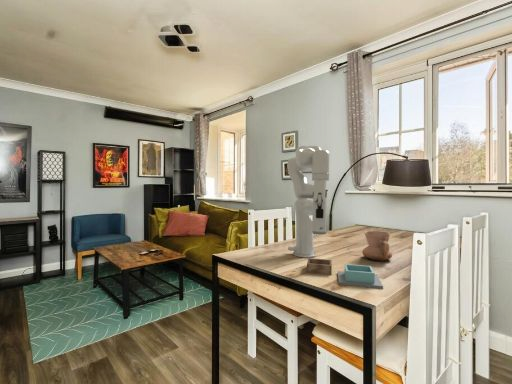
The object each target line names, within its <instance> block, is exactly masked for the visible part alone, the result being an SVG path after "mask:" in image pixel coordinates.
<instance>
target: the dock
mask: <svg viewBox="0 0 512 384" xmlns="http://www.w3.org/2000/svg"><path fill="white" fill-rule="evenodd" d="M337 280H338V285H341V286H351V287H362V288H370V289H381V290H382V289H384V285H383V283H382V281H381V280H380V277H379V275H378V274H377V273H375V271H374V269H373V268H372V265H361V264H351V263H349V264H348V263H344V271H342V270H341V271H339V270H337Z"/></svg>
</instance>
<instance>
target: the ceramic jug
mask: <svg viewBox="0 0 512 384" xmlns="http://www.w3.org/2000/svg"><path fill="white" fill-rule="evenodd" d="M364 235H365V240H366V242H367V245H368V246H366V247H364V248H363V249H362V251H361V253H362V256H363V257H365V258H367V259H369V260H372V261H378V262H380V261H381V262H383V261H388V260H390V259H391V258H392V257H393V252H392V251H391V250H390V243H389V240H390V236H391V234H390V232H389V231H384V230H383V231H381V230H365V232H364Z"/></svg>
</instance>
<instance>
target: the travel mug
mask: <svg viewBox="0 0 512 384" xmlns="http://www.w3.org/2000/svg"><path fill="white" fill-rule="evenodd" d="M328 191H329V190H328V189H326V195H325V202H324V203H323V218H316V207H317V200H316V201H315V203H314V202H313V215H312V218H311V220H312V229H313V230H312V233H313V235H323V236H324V235H326V234H327V220H328V219H327V213H328V212H327V211H328V210H327V209H328V205H327V203H328V199H327V198H328V197H327V196H328V195H327V194H328ZM321 194H322V193H321ZM313 200H314V192H313ZM321 202H322V201H321Z"/></svg>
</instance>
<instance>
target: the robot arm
mask: <svg viewBox="0 0 512 384" xmlns="http://www.w3.org/2000/svg"><path fill="white" fill-rule="evenodd" d="M286 166H287V168H286V169H287V173H288V175H289V177H290V179H291V181H292V186H293V191H294V195H295V198H296V199H297V200H295V202H294V211H295V226H296V227H295V230H296V231H295V246H289V245H288V247H287V250H288V251H292V252H293V253H292V255H293V256H295V257H298V258H307V259H308V258H313V257H316V256H317V253H316V252H315V251H314V234H313V233H312V230H313V229H312V218H311V217H310V216H313V202H314V203H315V201H316V200H317V207H316V218H323V203H324V202H325V195H326V190H327V182H328V181H329V180H330V152H329V150H327V149H321V147H320V146H318V145H300V146H298V147H297V148H296V150H295V157H292V158H290V159H288V161H287V164H286ZM302 172H311V181H313V183H308V179H307V176H305V174H303V173H302ZM313 192H314V200H313ZM321 193H322V194H321ZM321 201H322V202H321Z"/></svg>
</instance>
